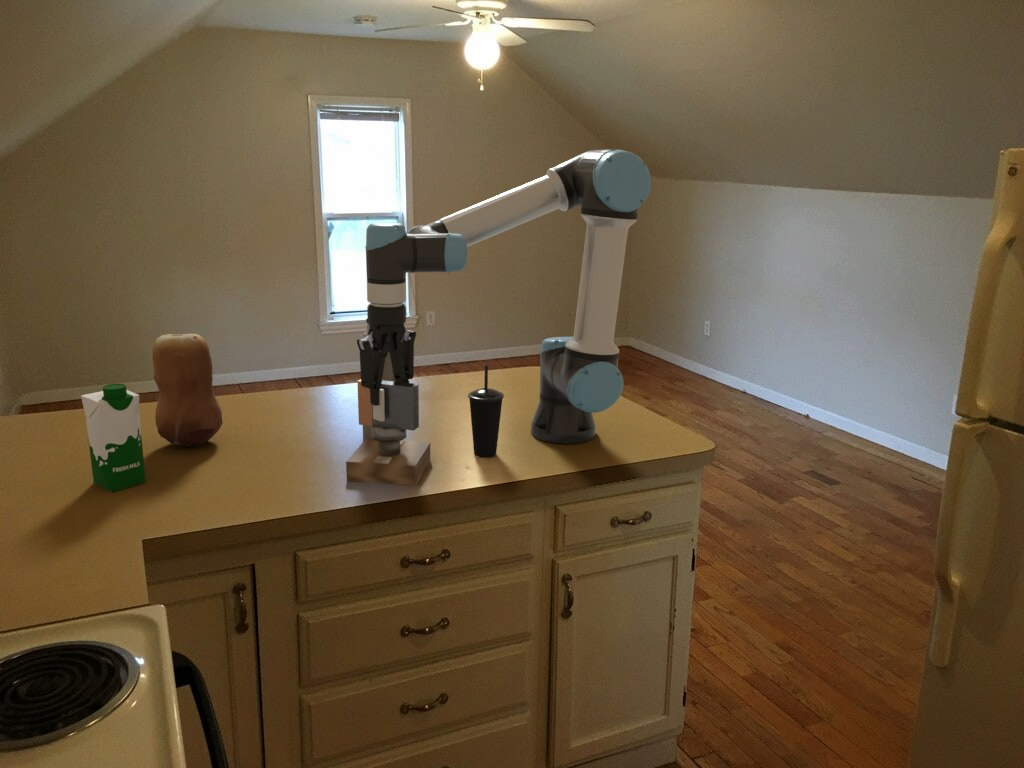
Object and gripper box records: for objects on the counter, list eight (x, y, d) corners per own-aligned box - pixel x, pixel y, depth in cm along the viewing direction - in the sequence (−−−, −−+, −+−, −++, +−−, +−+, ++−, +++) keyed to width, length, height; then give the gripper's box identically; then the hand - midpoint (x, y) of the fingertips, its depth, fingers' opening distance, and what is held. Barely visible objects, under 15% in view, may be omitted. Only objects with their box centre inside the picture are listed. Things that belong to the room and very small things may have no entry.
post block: (430, 460, 181) (430, 428, 180) (415, 484, 168) (415, 451, 166) (366, 456, 183) (365, 425, 181) (346, 480, 170) (345, 447, 168)
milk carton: (108, 495, 160) (96, 393, 155) (86, 483, 166) (74, 384, 160) (153, 482, 167) (143, 384, 161) (130, 470, 172) (119, 375, 167)
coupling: (423, 434, 175) (422, 380, 172) (409, 445, 169) (408, 389, 165) (369, 427, 178) (368, 375, 175) (354, 438, 172) (352, 383, 169)
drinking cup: (471, 461, 181) (472, 371, 176) (464, 449, 188) (464, 362, 183) (506, 459, 183) (508, 369, 177) (497, 447, 190) (499, 360, 185)
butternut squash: (196, 430, 197) (187, 324, 190) (236, 441, 190) (228, 332, 183) (143, 447, 185) (132, 335, 178) (185, 459, 179) (174, 343, 172)
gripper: (407, 295, 175) (408, 404, 181) (338, 306, 162) (342, 422, 168) (432, 300, 170) (432, 412, 176) (363, 311, 157) (366, 431, 164)
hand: (388, 416), depth 172 cm, fingers closed on coupling, 4 cm apart
